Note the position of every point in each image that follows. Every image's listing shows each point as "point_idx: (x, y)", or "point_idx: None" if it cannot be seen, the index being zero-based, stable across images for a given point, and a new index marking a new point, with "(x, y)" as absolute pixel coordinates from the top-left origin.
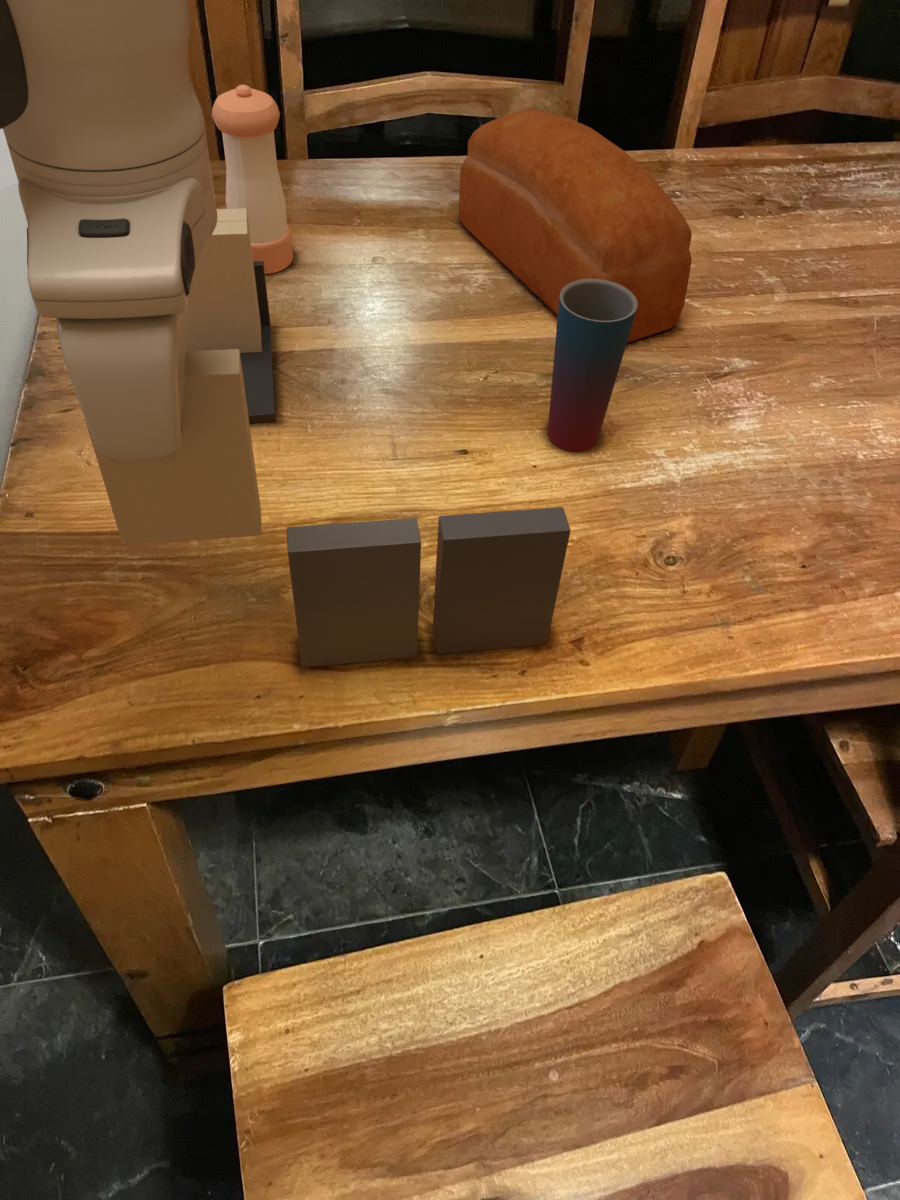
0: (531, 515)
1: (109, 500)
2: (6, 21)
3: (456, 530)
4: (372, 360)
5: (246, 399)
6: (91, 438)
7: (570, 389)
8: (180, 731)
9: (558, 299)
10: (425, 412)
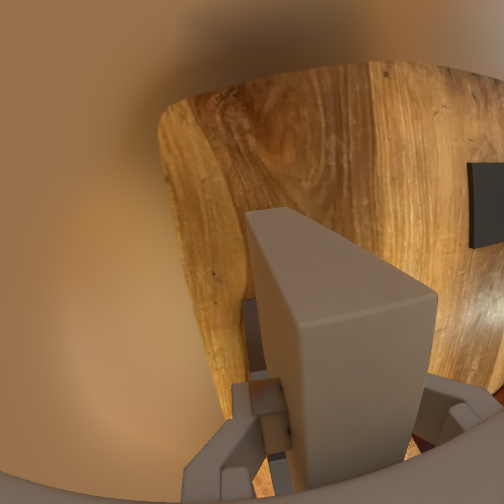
0: (292, 492)
1: (249, 223)
2: None
3: (278, 466)
4: (501, 302)
5: (486, 226)
6: (263, 253)
7: (430, 445)
8: (180, 222)
9: (502, 398)
10: (459, 343)
